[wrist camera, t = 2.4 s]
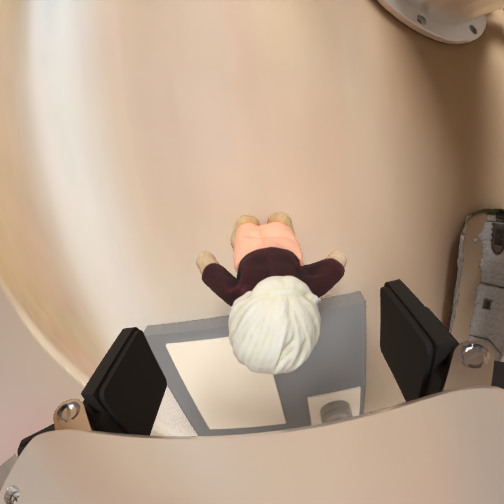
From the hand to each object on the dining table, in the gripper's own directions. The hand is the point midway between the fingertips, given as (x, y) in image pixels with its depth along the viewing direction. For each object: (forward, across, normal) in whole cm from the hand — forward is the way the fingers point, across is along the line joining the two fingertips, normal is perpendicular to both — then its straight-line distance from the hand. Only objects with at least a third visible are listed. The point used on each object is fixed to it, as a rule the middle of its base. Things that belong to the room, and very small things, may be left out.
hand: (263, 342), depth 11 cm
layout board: (+11, +2, +13) cm, 17 cm away
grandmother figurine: (+11, -1, -1) cm, 11 cm away
